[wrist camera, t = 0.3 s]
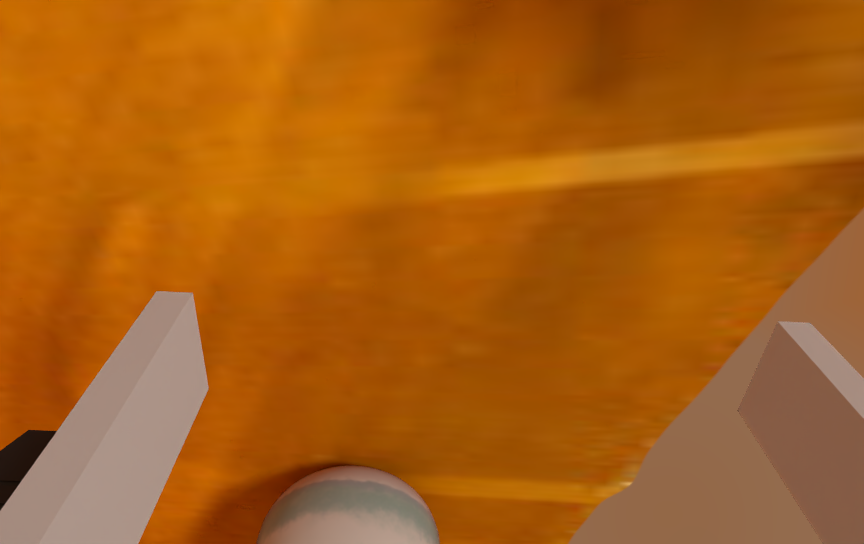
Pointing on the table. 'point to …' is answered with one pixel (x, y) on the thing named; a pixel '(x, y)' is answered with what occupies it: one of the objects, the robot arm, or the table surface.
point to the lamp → (349, 510)
